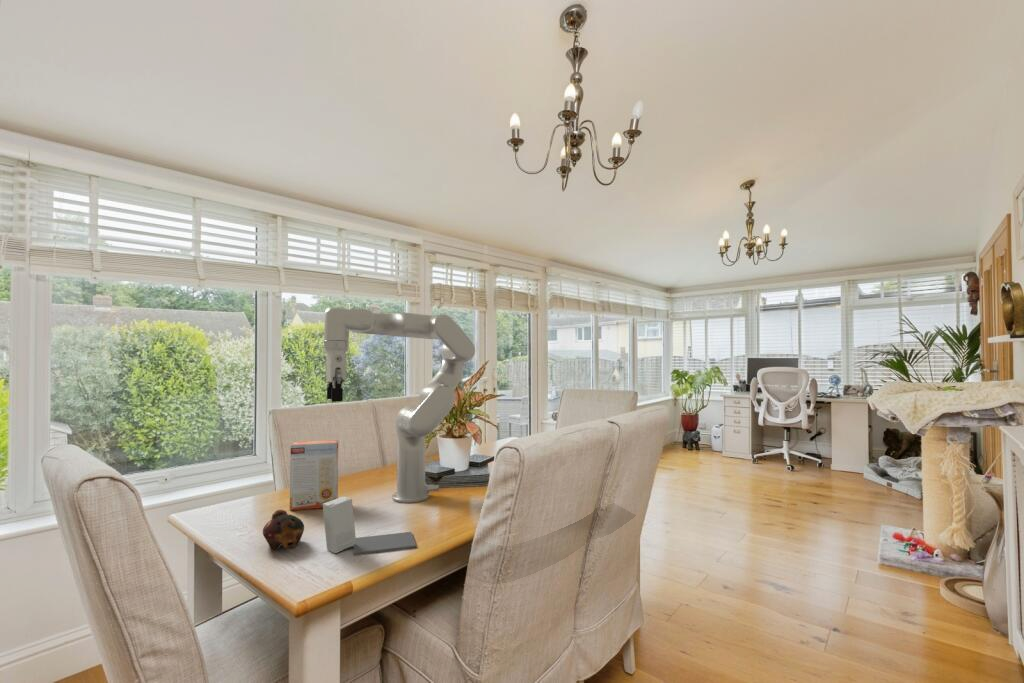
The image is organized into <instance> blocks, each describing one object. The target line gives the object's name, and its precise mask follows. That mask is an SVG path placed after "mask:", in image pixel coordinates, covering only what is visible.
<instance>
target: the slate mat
mask: <svg viewBox="0 0 1024 683" xmlns="http://www.w3.org/2000/svg"><path fill="white" fill-rule="evenodd" d="M416 548H417V545H416V541H415V539H414V535H413V532H412V531H406V532H397V533H395V532H394V533H387V534H379V535H368V536H362V537H356V544H355V545H353V556H360V555H367V554H375V553H376V554H377V553H384V552H394V551H400V550H408V549H416Z"/></svg>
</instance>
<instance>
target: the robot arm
mask: <svg viewBox="0 0 1024 683" xmlns="http://www.w3.org/2000/svg"><path fill="white" fill-rule="evenodd" d="M324 311H325V312H324V326H323V327H324V328H323V331H324V332H323V351H324V352H326V367H325V368H326V369H325V370H326V372H325V374H326V376H325V377H326V381H327V387H326V399H327V400H331V402H333V403H334V402H335V403H336V402H343V397H344V396H343V395H344V394H343V392H344V388H343V387H344V385H343V383H345V382H347V377H348V375H347V352H349V349H350V348H349V345H350V344H349V343H350V332H351V333H353V334H354V333H355V334H363V335H364V334H366V335H379V336H390V337H399V338H400V337H401V338H413V339H414V338H415V339H424V340H425V339H426V340H440V341H441V342H442V343H443V344H442V345H441V349H440V353H441V354H440V355H441V361H442V363H441V366H440V368H439V369H438V371H437V373H436V374H435V375H434V376H433V377H432V379H430V380H429V382H428V383H426V385H425V386H424V387H423V388H422V389H421V390H420V392H419V396H418V401H419V403H420V404H419V406H416V405H407V406H405V407H403V408H401V409H400V410H399V411H398V412H397V415H396V419H395V420H396V421H395V428H396V436H397V461H396V462H397V464H396V466H397V474H396V476H397V478H396V479H397V480H396V491H395V492H394V493H393V494H392V496H391V498H392V501H395V502H398V503H402V504H403V503H405V504H407V503H408V504H411V503H412V504H413V503H418V502H423V501H426V500H428V499H429V498H430V492H438V491H440V487H439V486H440V485H438V484H437V485H435V484H427V483H426V450H427V449H426V448H427V446H426V437H428V436H429V435H430V434H431V433H433V432H434V431H435V430H436V429H437V427H438V426H439V425H440V424H441V423H442V421H443V420H444V419H445V418H446V417H447V416H448V414H449V413H450V412H451V411H452V409H453V408H454V406H455V403H456V399H457V398H456V397H457V396H456V393H455V392H456V391H454V389H456V387H457V386H458V385H459V383H460V381H461V380H462V378H463V374H464V363H467V362H470V361H471V360H473V357H474V356H475V352H476V347H475V344H474V343H473V341H472V340H471V339H470V337H469V336H468V335H467V334H466V333H465V331H464V330H463V329H462V328H461V327H460V325H458V324H457V322H456V321H455V320H454V319H453V318H452V317H450V316H449V315H447V314H436V315H432V314H421V313H410V312H399V311H398V312H392V313H375V312H372V310H370V309H367V308H356V309H355V308H353V309H352V308H351V309H347V308H343V307H328V308H326V310H324Z"/></svg>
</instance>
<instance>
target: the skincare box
mask: <svg viewBox="0 0 1024 683" xmlns="http://www.w3.org/2000/svg"><path fill="white" fill-rule="evenodd" d="M353 507H354V506H353V498H350V497H347V496H340V497H338V498H337V499H335V500H332V501H329V502H326V503H323V508H322V513H323V522H324V533H325V541H326V542H325V544H326V550H327V551H329V552H330V553H333V554H337V553H339V552H342V551H344V550H346V549H348V548H350V547H354V545H355V544H356V538H357V537H356V529H355V528H356V527H355V515H354V508H353Z"/></svg>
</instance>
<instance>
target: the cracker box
mask: <svg viewBox="0 0 1024 683" xmlns="http://www.w3.org/2000/svg"><path fill="white" fill-rule="evenodd" d="M289 461H290V462H289V463H290V464H289V511H299V510H312V509H323V503H326V502H329V501H332V500H335V499H337V498H339V440H338V439H335V440H310V441H294V442H293V443H291V444H290V460H289Z"/></svg>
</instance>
